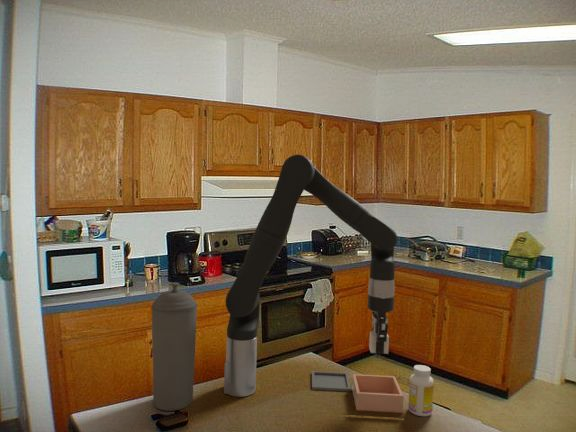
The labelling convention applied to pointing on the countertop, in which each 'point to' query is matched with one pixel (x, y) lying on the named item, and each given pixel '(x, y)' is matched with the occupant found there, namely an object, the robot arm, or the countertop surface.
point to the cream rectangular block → (373, 343)
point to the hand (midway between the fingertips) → (378, 350)
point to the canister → (173, 349)
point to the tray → (330, 381)
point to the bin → (377, 393)
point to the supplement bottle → (421, 391)
